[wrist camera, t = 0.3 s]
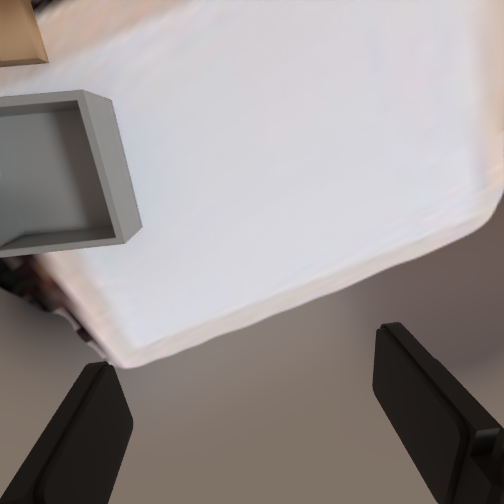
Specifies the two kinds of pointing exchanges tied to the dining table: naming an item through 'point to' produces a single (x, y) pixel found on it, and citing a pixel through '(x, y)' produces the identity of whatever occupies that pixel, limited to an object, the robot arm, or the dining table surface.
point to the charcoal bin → (63, 174)
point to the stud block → (19, 35)
